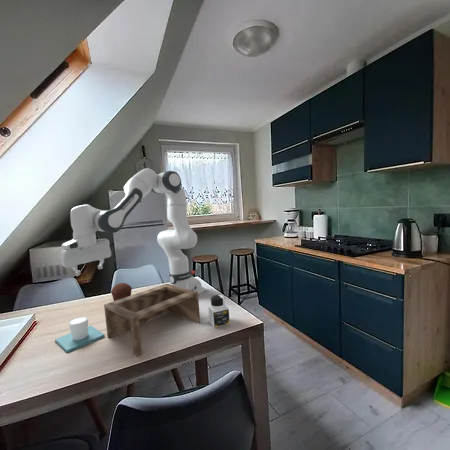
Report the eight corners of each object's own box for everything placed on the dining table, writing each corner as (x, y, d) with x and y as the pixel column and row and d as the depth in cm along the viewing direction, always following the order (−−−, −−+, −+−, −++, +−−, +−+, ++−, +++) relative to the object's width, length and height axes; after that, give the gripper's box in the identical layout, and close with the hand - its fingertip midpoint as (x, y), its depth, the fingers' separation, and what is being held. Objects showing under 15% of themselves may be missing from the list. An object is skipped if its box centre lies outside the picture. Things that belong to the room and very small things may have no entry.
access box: (168, 310, 128) (166, 283, 127) (200, 322, 113) (197, 291, 111) (107, 337, 105) (104, 304, 103) (136, 356, 89) (132, 318, 88)
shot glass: (75, 342, 100) (73, 325, 99) (67, 338, 104) (65, 321, 103) (92, 334, 105) (91, 318, 105) (84, 330, 109) (83, 315, 109)
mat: (91, 327, 114) (90, 325, 114) (104, 336, 105) (104, 334, 105) (55, 341, 104) (55, 339, 104) (66, 352, 95) (66, 350, 95)
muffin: (112, 299, 150) (110, 282, 149) (132, 295, 154) (130, 279, 153) (111, 306, 139) (110, 288, 138) (133, 302, 143) (131, 284, 142)
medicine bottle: (214, 328, 106) (212, 300, 105) (209, 321, 113) (207, 295, 112) (229, 324, 109) (228, 297, 108) (223, 317, 116) (222, 292, 115)
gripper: (105, 237, 122) (109, 265, 124) (57, 245, 107) (62, 277, 108) (111, 237, 118) (115, 266, 119) (62, 246, 102) (67, 279, 104)
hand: (89, 271), depth 114 cm, fingers open, 8 cm apart
